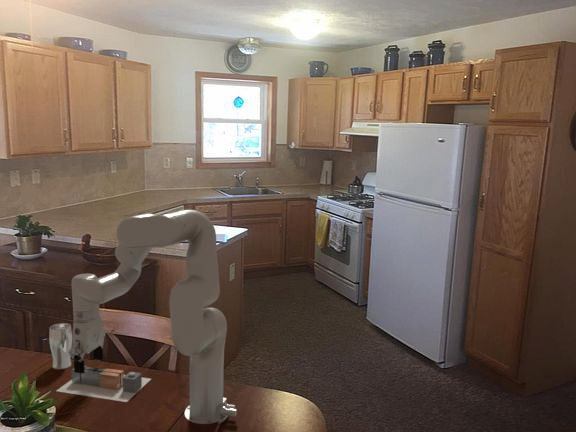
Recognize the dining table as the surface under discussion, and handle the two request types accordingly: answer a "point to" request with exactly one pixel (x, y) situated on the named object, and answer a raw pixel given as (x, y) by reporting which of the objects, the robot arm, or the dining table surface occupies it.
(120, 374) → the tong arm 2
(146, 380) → the white board with blocks
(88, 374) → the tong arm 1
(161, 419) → the dining table surface
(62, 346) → the beer glass
